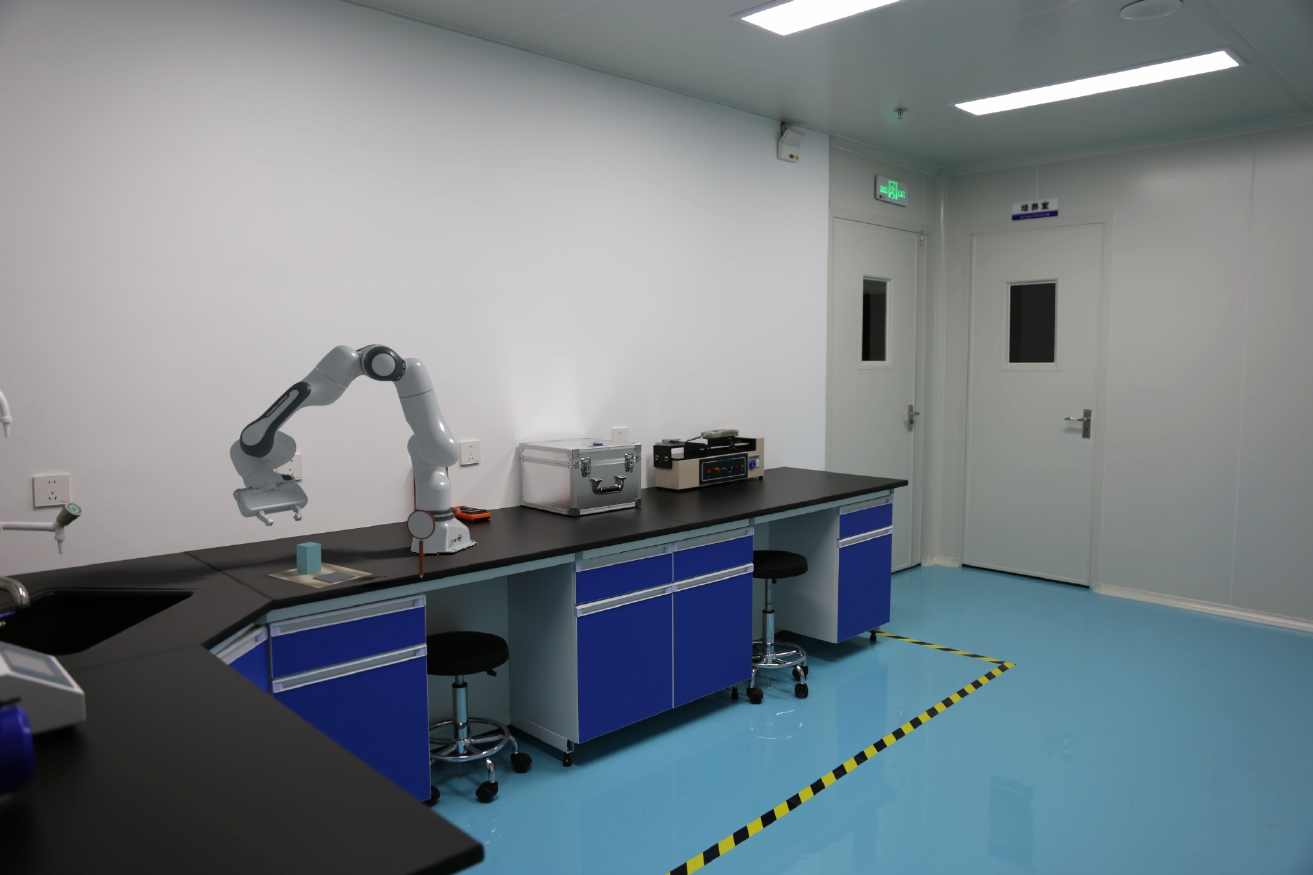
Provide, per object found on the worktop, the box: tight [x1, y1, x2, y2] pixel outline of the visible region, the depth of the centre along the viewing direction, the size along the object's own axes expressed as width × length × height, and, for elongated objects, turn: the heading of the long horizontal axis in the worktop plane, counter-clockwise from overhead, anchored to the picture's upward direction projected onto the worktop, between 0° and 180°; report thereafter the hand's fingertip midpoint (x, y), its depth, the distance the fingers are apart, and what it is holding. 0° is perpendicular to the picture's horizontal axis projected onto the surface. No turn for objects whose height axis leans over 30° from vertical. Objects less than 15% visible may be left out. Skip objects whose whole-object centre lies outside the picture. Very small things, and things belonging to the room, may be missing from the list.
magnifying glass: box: [406, 510, 435, 579], centre depth 242 cm, size 9×2×20 cm, turn 79°
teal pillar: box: [296, 541, 322, 575], centre depth 241 cm, size 5×5×8 cm
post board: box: [268, 561, 372, 589], centre depth 238 cm, size 18×22×6 cm
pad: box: [313, 572, 356, 583], centre depth 235 cm, size 8×8×1 cm
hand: (285, 522), depth 245 cm, fingers open, 8 cm apart
